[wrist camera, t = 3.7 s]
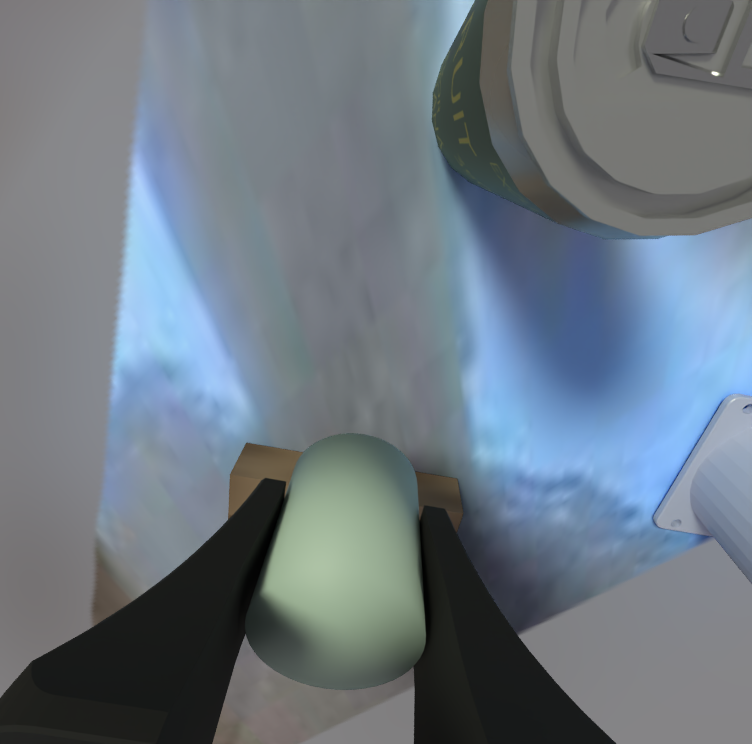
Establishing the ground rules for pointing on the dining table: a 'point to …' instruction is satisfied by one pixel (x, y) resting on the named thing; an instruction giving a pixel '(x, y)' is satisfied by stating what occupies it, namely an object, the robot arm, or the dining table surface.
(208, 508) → the dining table surface
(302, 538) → the peg
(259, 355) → the dining table surface
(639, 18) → the beer can
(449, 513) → the socket
